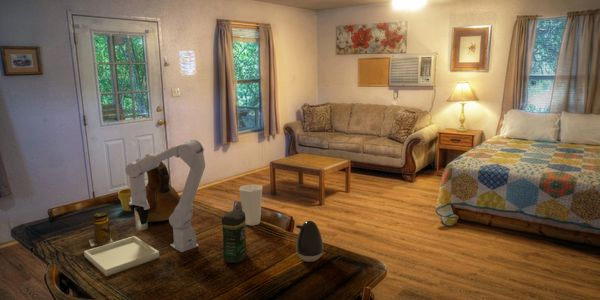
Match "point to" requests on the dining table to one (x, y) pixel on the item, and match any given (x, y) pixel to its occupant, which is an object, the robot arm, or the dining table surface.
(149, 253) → the tray
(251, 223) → the cup
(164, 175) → the ceramic pitcher
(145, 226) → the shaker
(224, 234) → the green squeeze bottle
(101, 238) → the condiment
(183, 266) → the dining table surface
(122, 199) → the plant pot
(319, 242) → the pump dispenser
